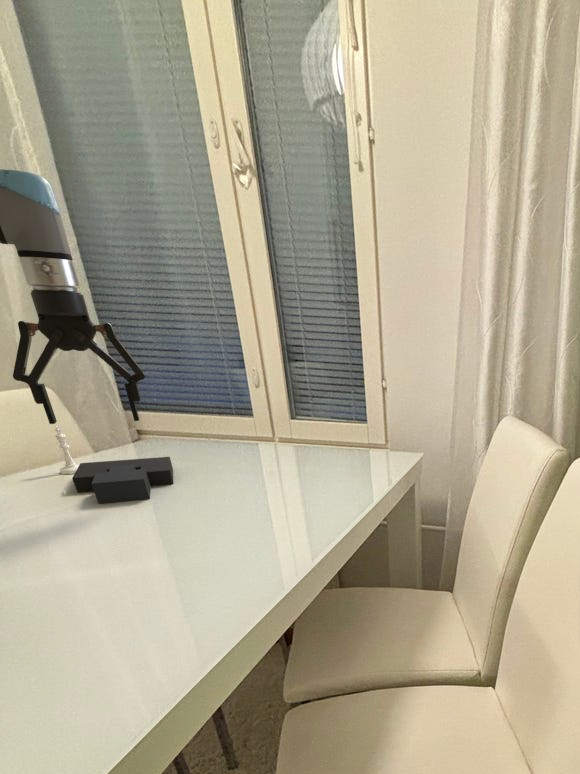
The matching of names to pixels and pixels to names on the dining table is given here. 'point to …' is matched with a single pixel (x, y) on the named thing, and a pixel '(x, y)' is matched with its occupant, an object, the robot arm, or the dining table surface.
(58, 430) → the chess piece
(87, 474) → the notch mat
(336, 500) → the dining table surface
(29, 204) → the robot arm
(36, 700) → the dining table surface
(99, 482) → the pad
